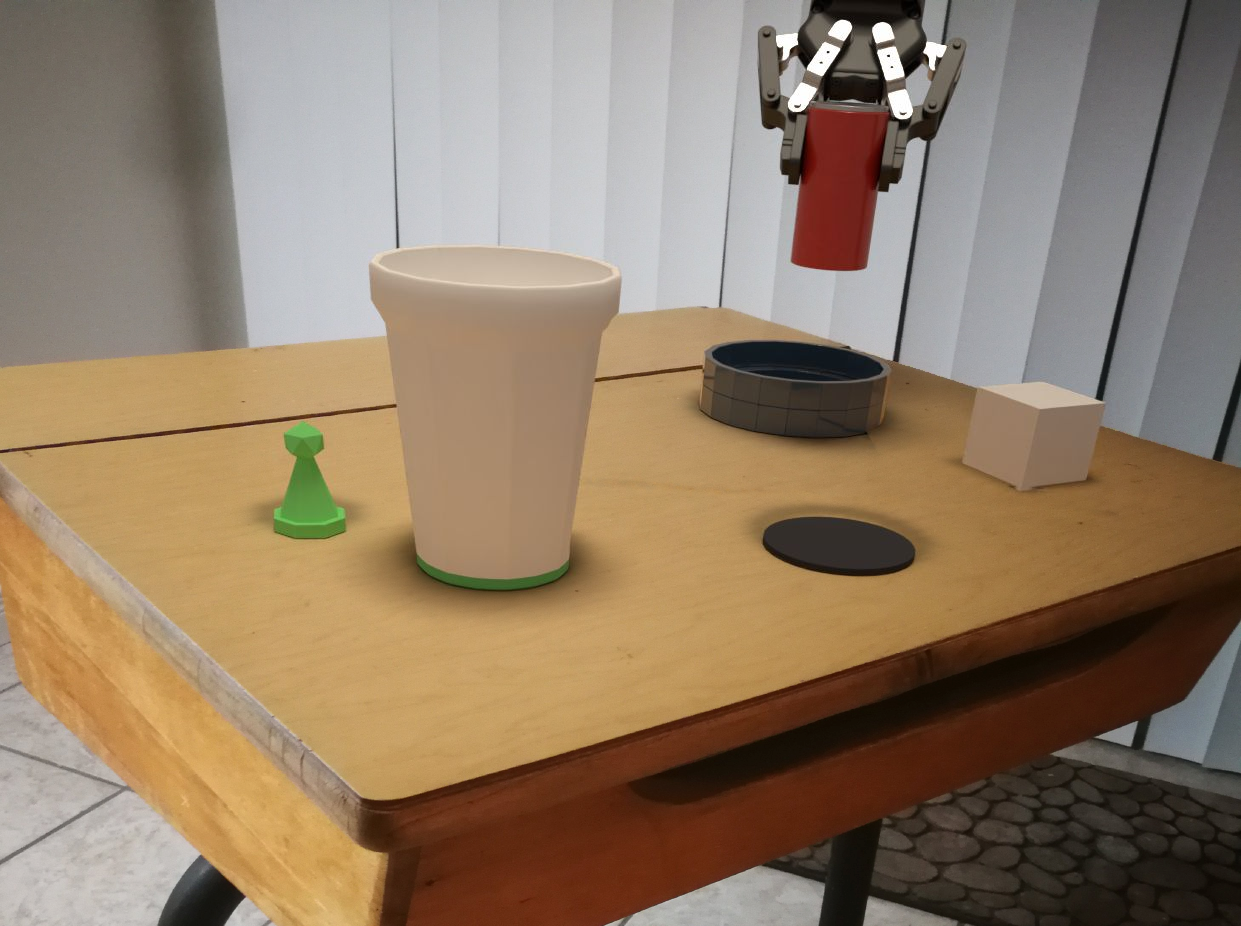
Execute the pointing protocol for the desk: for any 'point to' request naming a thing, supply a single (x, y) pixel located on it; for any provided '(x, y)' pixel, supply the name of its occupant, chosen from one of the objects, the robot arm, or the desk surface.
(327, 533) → the game piece
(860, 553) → the coaster
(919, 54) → the robot arm
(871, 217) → the can
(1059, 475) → the beige cube
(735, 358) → the dish
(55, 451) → the desk surface
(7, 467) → the desk surface
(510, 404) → the cup
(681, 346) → the desk surface
